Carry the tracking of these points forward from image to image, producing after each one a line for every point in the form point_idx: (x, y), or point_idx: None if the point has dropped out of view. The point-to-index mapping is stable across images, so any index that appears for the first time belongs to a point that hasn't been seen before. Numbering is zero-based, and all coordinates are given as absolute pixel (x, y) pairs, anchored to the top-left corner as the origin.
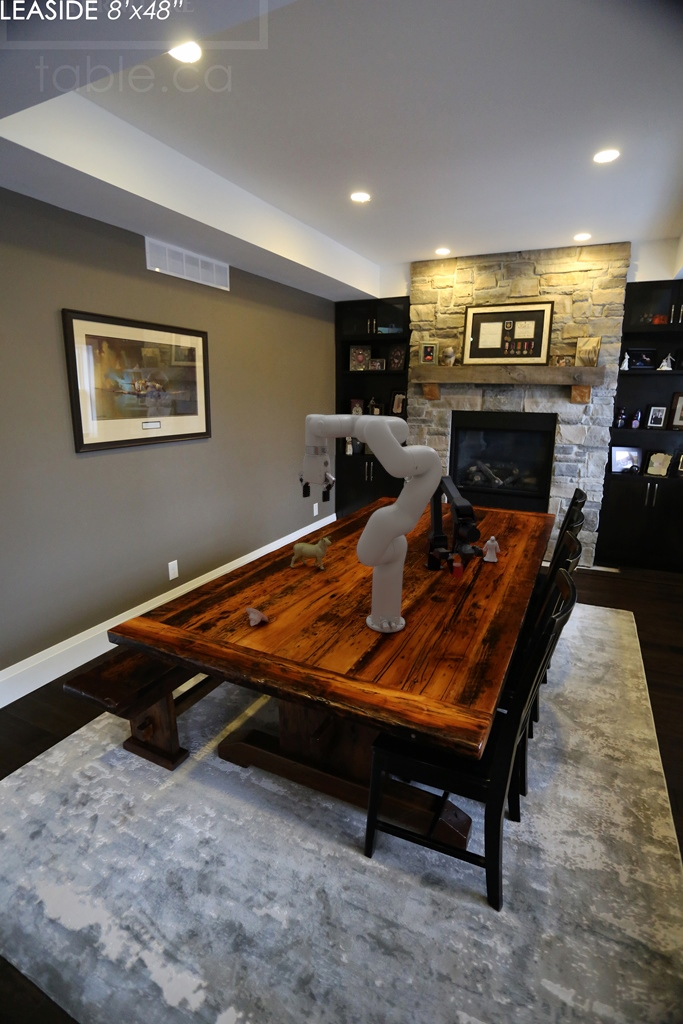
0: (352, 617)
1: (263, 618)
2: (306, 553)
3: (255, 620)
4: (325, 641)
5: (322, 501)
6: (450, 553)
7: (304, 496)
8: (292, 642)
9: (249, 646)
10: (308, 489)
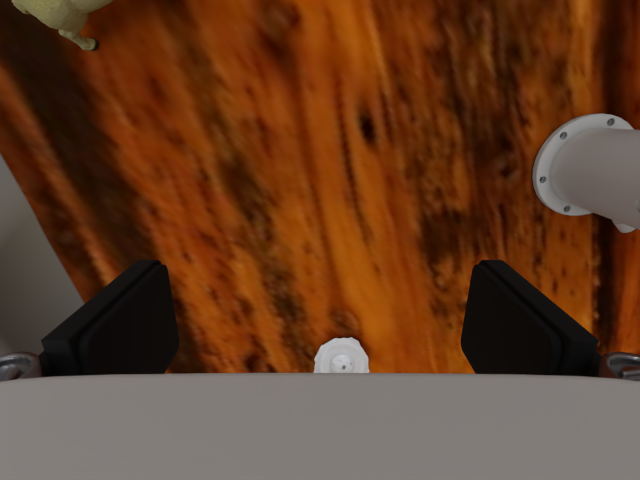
0: (491, 195)
1: (354, 354)
2: (103, 3)
3: (348, 367)
4: None
5: (467, 349)
6: None
7: (175, 351)
8: (450, 353)
9: None
10: (124, 342)
